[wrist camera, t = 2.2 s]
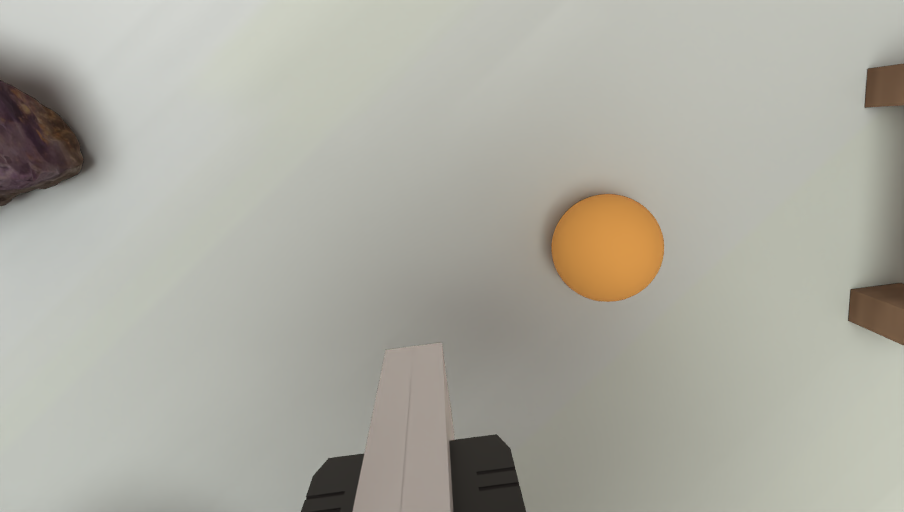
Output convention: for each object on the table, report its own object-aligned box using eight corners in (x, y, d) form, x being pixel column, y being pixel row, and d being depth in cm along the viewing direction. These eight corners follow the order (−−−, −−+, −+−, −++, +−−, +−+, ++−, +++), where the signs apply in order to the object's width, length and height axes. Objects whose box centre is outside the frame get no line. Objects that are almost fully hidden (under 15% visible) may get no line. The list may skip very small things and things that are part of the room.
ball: (638, 276, 29) (685, 309, 24) (545, 289, 29) (571, 324, 24) (635, 182, 28) (684, 194, 22) (537, 195, 28) (563, 210, 22)
